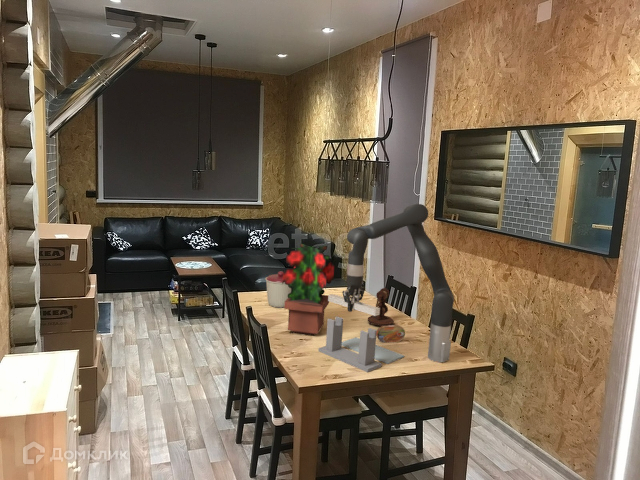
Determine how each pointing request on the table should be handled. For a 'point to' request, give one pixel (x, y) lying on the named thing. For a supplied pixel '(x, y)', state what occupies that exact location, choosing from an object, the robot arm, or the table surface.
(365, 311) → the steel bar
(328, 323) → the rack
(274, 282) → the canister
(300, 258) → the potted plant
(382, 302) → the brown statuette
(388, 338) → the tin
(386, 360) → the mat
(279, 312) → the table surface
